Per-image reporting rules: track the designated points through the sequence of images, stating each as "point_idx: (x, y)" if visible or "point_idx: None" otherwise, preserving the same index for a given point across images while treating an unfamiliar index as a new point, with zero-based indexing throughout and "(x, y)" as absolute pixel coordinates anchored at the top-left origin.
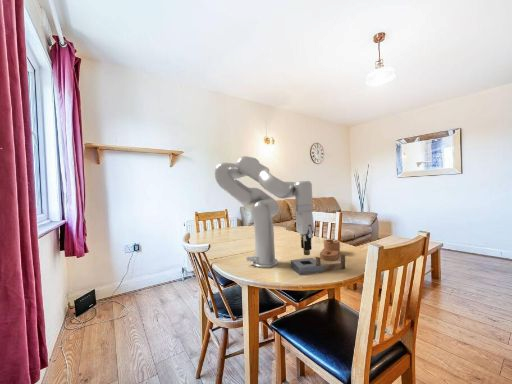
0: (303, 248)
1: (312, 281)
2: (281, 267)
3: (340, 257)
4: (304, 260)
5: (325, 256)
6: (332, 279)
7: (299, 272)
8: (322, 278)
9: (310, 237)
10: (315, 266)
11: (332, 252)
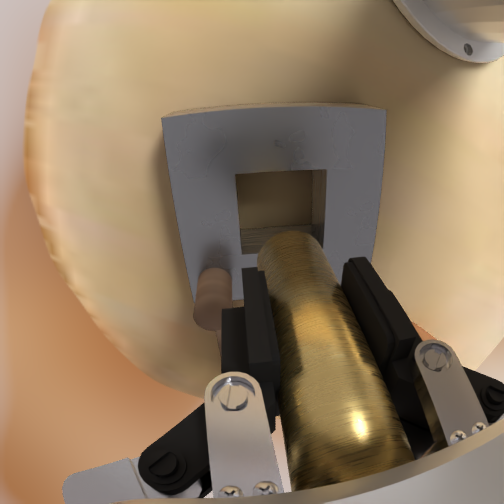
0: (314, 269)
1: (67, 172)
2: (362, 33)
3: None
4: (336, 218)
5: None
6: (94, 279)
7: (168, 114)
8: (104, 238)
9: (86, 474)
10: (183, 252)
11: None
